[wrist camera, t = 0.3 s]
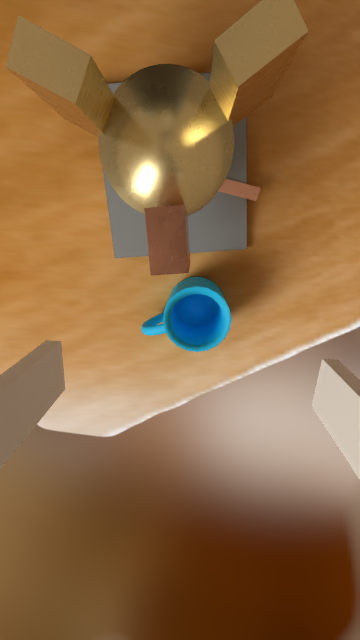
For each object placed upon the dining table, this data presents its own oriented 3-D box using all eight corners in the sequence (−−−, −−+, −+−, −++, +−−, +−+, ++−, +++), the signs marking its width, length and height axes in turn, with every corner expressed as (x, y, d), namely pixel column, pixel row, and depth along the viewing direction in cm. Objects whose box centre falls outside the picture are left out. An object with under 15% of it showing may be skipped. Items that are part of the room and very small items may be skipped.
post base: (95, 90, 35) (62, 43, 26) (259, 72, 33) (281, 16, 25) (117, 257, 40) (96, 263, 32) (257, 247, 39) (275, 251, 31)
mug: (214, 268, 40) (219, 276, 32) (231, 320, 42) (239, 340, 35) (136, 295, 42) (123, 309, 34) (156, 344, 44) (148, 368, 36)
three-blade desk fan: (59, 87, 27) (-5, 17, 18) (271, 63, 26) (310, -23, 17) (88, 269, 32) (49, 281, 23) (268, 256, 30) (297, 265, 22)
